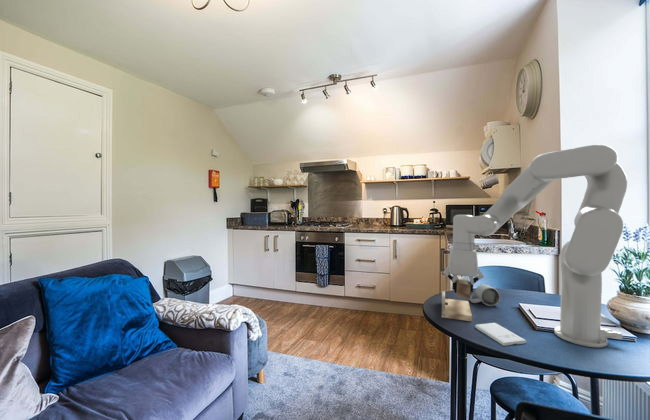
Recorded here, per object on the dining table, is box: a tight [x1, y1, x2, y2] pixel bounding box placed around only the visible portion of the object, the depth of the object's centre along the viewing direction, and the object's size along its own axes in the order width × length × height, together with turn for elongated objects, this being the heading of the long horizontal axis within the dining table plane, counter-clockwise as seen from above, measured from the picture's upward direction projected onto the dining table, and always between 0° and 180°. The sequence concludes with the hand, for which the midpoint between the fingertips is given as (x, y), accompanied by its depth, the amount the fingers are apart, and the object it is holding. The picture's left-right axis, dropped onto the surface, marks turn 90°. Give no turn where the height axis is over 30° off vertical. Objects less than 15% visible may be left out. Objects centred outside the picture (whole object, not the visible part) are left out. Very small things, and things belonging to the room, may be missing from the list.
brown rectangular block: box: [456, 276, 471, 300], centre depth 109 cm, size 4×11×5 cm, turn 158°
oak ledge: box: [441, 290, 473, 322], centre depth 111 cm, size 10×16×5 cm, turn 157°
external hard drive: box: [474, 322, 528, 346], centre depth 92 cm, size 2×8×12 cm
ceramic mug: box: [469, 283, 501, 307], centre depth 121 cm, size 11×8×8 cm
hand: (462, 292), depth 109 cm, fingers closed on brown rectangular block, 4 cm apart
